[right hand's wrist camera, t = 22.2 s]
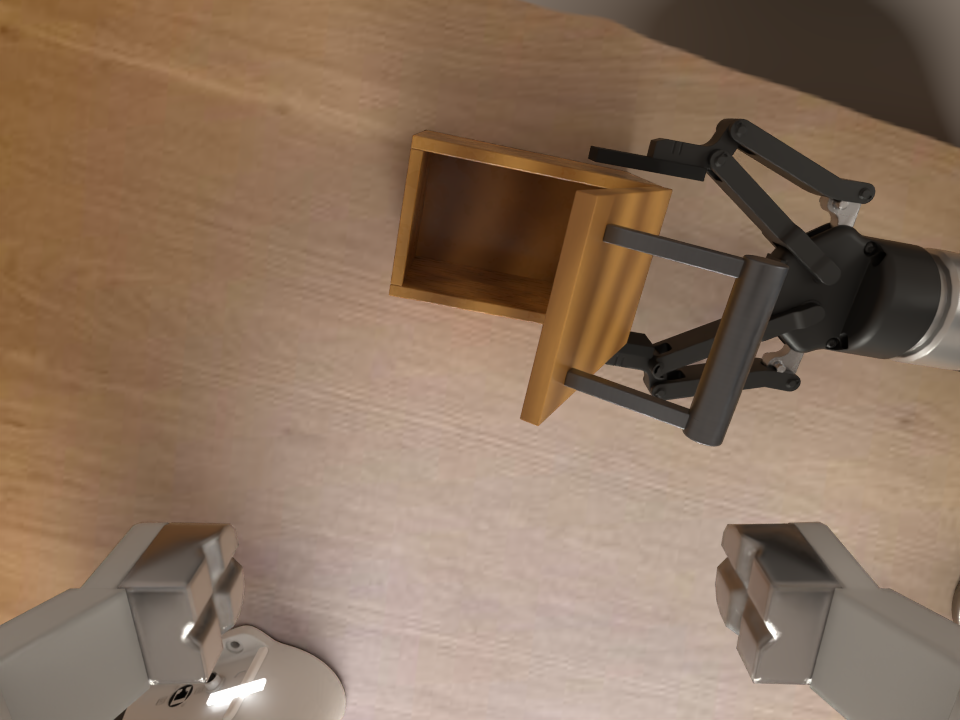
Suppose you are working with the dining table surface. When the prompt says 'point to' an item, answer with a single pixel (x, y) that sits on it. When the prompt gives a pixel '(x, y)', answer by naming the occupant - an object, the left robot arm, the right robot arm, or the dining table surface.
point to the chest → (488, 224)
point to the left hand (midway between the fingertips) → (571, 246)
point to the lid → (614, 300)
